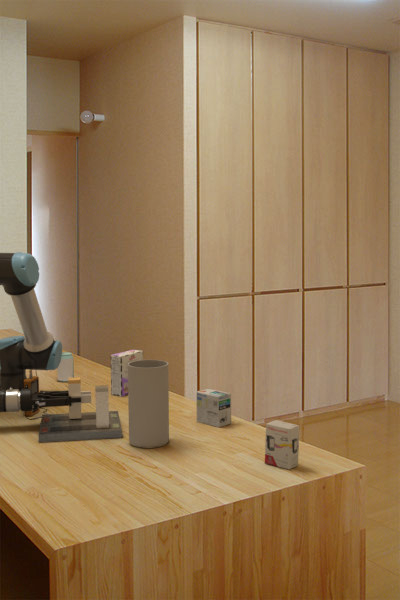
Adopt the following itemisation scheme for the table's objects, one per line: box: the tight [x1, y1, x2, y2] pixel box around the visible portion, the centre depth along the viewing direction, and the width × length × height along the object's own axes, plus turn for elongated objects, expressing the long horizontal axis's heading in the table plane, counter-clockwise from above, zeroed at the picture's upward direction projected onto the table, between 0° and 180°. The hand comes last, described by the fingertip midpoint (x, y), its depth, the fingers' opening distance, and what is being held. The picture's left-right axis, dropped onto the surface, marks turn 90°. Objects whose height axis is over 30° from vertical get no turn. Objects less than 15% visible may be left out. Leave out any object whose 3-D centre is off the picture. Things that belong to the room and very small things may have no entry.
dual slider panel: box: [38, 384, 123, 444], centre depth 231 cm, size 23×26×16 cm
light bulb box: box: [196, 388, 232, 428], centre depth 238 cm, size 11×7×11 cm, turn 47°
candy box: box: [110, 349, 144, 398], centre depth 280 cm, size 14×6×16 cm, turn 144°
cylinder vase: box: [127, 359, 170, 449], centre depth 217 cm, size 12×12×25 cm
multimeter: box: [23, 358, 49, 421], centre depth 249 cm, size 15×10×20 cm
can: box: [56, 351, 75, 383], centre depth 302 cm, size 7×7×12 cm
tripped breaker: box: [67, 376, 82, 419], centre depth 236 cm, size 4×4×13 cm
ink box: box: [264, 419, 301, 470], centre depth 197 cm, size 9×5×12 cm, turn 50°
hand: (90, 396), depth 237 cm, fingers closed on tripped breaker, 4 cm apart
